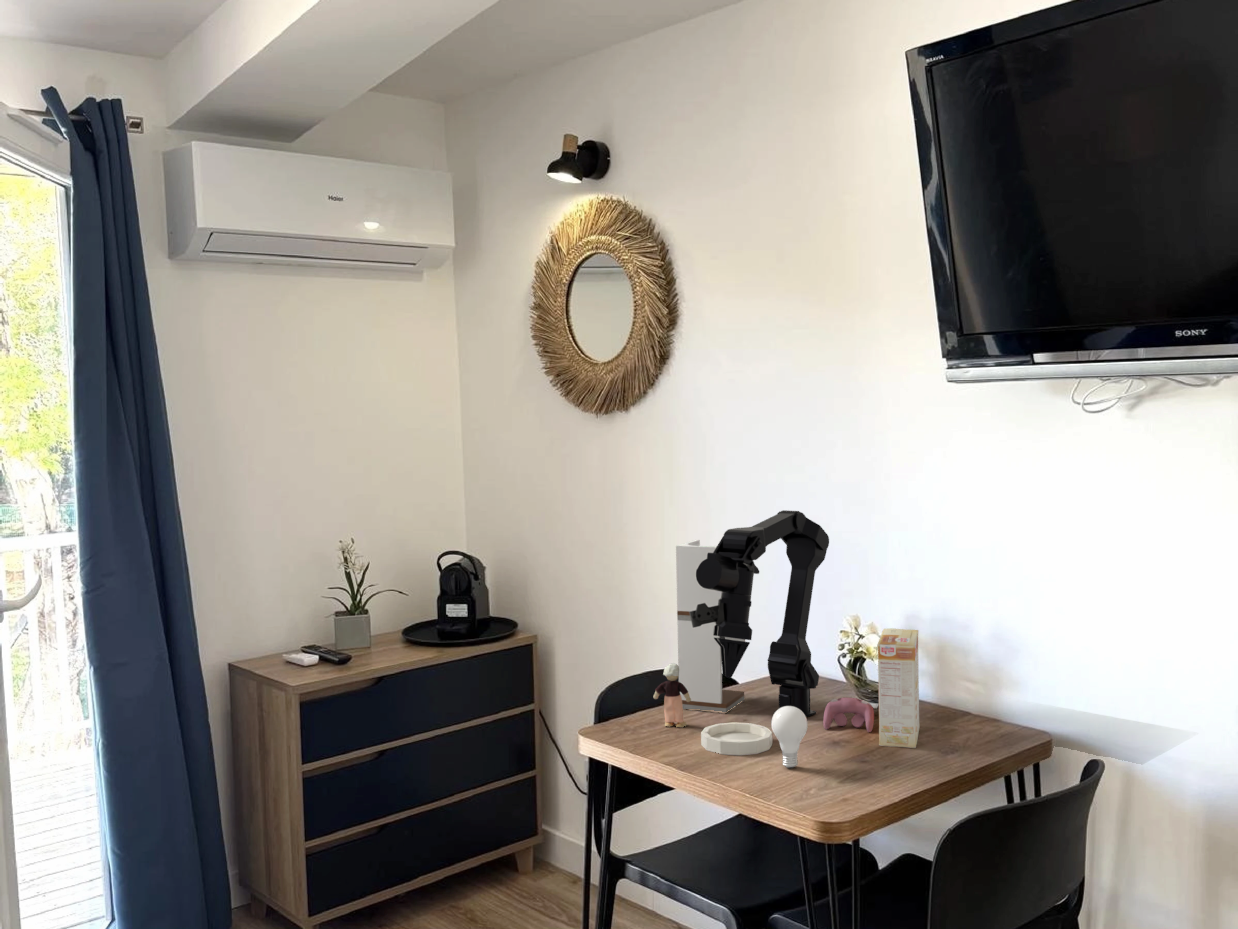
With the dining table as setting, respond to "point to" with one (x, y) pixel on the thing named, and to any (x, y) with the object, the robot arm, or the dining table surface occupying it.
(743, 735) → the dish
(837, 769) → the dining table surface
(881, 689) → the coffeecake box
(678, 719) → the grandmother figurine
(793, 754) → the lightbulb
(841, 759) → the dining table surface
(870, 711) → the video game controller
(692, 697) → the white tower with stripe
